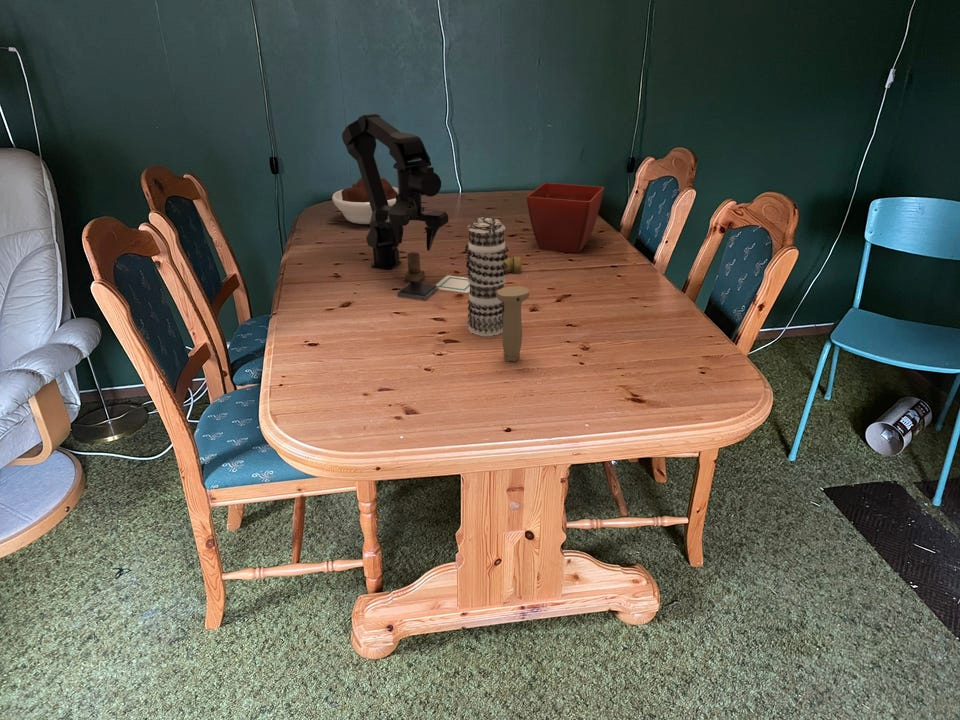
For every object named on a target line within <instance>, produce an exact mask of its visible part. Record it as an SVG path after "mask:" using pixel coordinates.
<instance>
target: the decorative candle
mask: <svg viewBox="0 0 960 720" xmlns="http://www.w3.org/2000/svg"><path fill="white" fill-rule="evenodd" d="M506 228H507V227H506V225H504V224H503V223H502V221H500V220H499V219H498V218H495V217H487V216H485V217H477V218H475V219H473V220H472V222H471V223H470V224H469V225H467V230H468V238H469V239H468V243H467V244H466V245H465V247H464V251H465V252H466V255H465V261H466V265H465V266H466V268H467V270H466V276H467V278H468V282H469V283H470V291H469V293H468V299H467V304H468V307H467V310H468V314H467V319H468V320H467V324H468V331H469V332H470V333H471V334H472V333H474V334H473V335H475V334H477V335H476V336H478V335H482V336H481V337H494V336H493V335H495V336H498V334H499V335H501V334H503V333H502V332H503V320H504V302H501V301H500V300H499V299H498V298H497V290H499V289H502V288H505V287H504V286H505V283H506V282H507V281H506V280H507V279H506V275H507V273H508V272H507V271H506V270H504V269H505V268H506V267H507V264H506V263H505V262H503V260H505V259H507V258H509V256H508V254H506V253H508V252H509V249H508V247H507V246H506V241H505V230H506ZM500 333H501V334H500Z"/></svg>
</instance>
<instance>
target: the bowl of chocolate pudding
mask: <svg viewBox="0 0 960 720" xmlns="http://www.w3.org/2000/svg"><path fill="white" fill-rule="evenodd" d="M381 181H382V184H383V188H384V191H385V194H386V198H387V201H388V204H389V206H393V205H394V204H395V202H396V194H398V193H399V192H398V187H395V186H392V185H391V183H390V182H389V181H388V180H387V179H386V178H385V177H382V178H381ZM331 199H332V202H333V204H334V206H335V207H337V209H338V210H339V211H341V213H342V214H343V216H344V218H345V220H347V221H348V222H351V223H353V224H359V225H370V220H371V216H372V209H371V206H370V203H369V199H368V196H367V193H366V189H365V186H364V183H363V180H362V177H360V178H358V180H357V182H356V183H353V184H352V185H351V187H347V188H344V189H340V190H338V191H336V192H334V193H333V194H332V197H331Z"/></svg>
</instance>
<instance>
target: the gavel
mask: <svg viewBox="0 0 960 720" xmlns="http://www.w3.org/2000/svg"><path fill="white" fill-rule="evenodd" d="M512 257H513V258H510V257H508V258H507V259H505V260H503V262H505V263H506V264H507V267H506V268H505V269H504V270H506V271H507V273H511V272H513V274H520V273H522V258H521V256H512Z"/></svg>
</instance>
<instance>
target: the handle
mask: <svg viewBox="0 0 960 720" xmlns="http://www.w3.org/2000/svg"><path fill="white" fill-rule="evenodd" d="M529 297H530V290H529V288H527V287H525V286H522V285H521V286H520V285H519V286H507V287H504V288H502V289H499V290H497V298H498V299H499V300H500V301H501V302H504V320H503V332H502V333H501V335H502V350H503V353H502V354H503V358H504V359H505V360H506V362H513V363H514V361H515V362H516V361H517V360H519V359H520V357H521V349H522V342H523V340H522V339H523V327H522V323H523V322H522V303H523V302H524V301H525V300H528V299H529Z"/></svg>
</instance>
